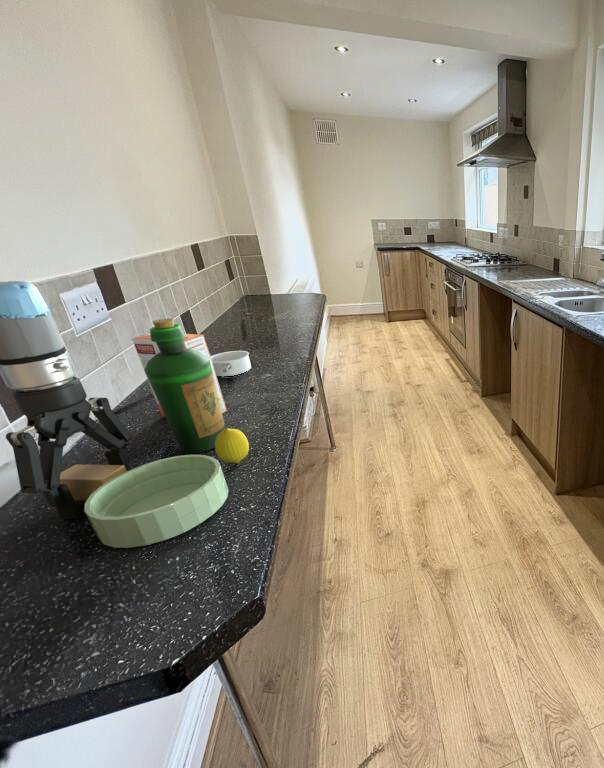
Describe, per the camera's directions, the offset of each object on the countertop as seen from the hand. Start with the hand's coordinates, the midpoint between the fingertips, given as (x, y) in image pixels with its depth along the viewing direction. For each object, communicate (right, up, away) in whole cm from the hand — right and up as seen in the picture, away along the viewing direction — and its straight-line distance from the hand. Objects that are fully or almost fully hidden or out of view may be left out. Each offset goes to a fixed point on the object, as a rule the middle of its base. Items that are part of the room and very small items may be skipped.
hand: (101, 498), depth 73 cm
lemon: (+17, +4, +11) cm, 21 cm away
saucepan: (-14, +23, +55) cm, 61 cm away
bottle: (+5, +7, +17) cm, 20 cm away
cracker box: (-7, +12, +31) cm, 34 cm away
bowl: (+15, -1, -3) cm, 15 cm away
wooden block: (0, 0, 0) cm, 0 cm away
